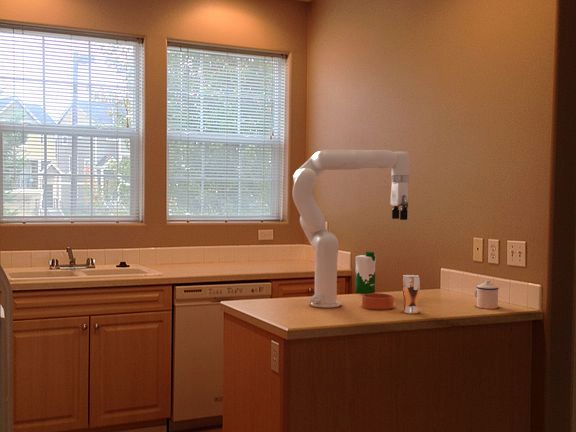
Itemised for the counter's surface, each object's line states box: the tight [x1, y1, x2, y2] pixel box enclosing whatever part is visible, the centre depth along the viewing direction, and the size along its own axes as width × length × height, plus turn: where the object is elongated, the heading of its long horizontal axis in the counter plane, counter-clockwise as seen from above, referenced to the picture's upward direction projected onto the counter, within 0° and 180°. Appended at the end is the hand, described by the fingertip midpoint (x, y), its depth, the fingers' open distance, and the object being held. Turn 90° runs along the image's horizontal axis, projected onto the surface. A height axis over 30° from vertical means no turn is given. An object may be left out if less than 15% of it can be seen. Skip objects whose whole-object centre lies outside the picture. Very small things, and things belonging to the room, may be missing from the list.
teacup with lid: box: [474, 279, 499, 310], centre depth 283 cm, size 12×9×12 cm
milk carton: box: [354, 251, 377, 295], centre depth 318 cm, size 9×9×20 cm
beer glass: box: [402, 274, 421, 315], centre depth 268 cm, size 7×7×15 cm
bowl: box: [361, 292, 395, 311], centre depth 279 cm, size 13×13×5 cm
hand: (399, 219), depth 287 cm, fingers open, 9 cm apart
